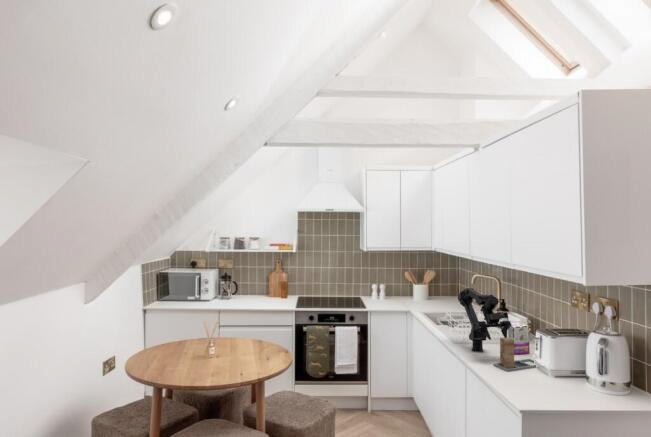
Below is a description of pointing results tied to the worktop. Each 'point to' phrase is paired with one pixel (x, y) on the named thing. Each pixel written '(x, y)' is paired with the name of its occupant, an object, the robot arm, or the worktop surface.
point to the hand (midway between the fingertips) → (498, 339)
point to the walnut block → (507, 353)
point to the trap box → (518, 365)
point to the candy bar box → (520, 338)
